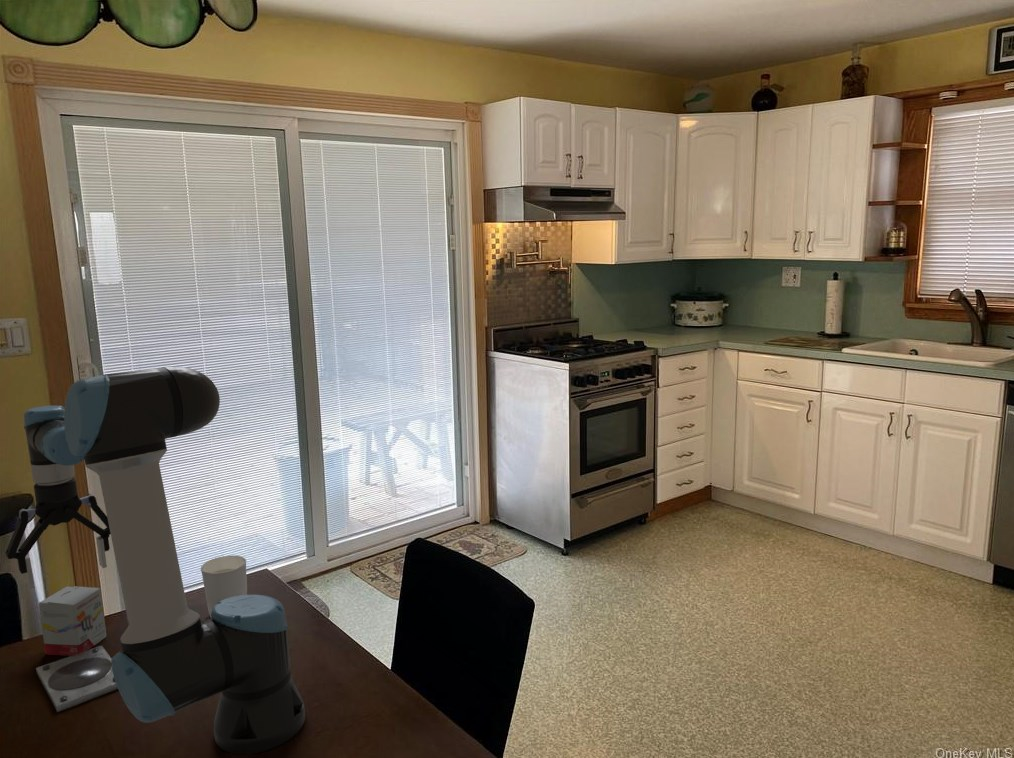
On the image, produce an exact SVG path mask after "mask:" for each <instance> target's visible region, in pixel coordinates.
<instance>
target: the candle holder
mask: <svg viewBox="0 0 1014 758" xmlns="http://www.w3.org/2000/svg"><path fill="white" fill-rule="evenodd" d="M200 571H201V572H200V573H201V575H202V582H203V587H204V592H205V599H206V600H205V601H206V605H207V610H208V614H209V617H210V618H209V619H211V618H212V616H211V612H212V609H213V607H214V606H215V605H216V604H217V603H218V602H219V601H221V600H224V599H226V598H230V597H234V596H239V595H248V584H247V583H248V582H247V581H248V578H247V559H246V558H245V557H243V556H240V555H223V556H219V557H215V558H213V559H209V560H207V561H206V562H204V563H203V564H202V565H201V567H200Z"/></svg>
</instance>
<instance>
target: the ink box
mask: <svg viewBox="0 0 1014 758" xmlns="http://www.w3.org/2000/svg"><path fill="white" fill-rule="evenodd" d="M38 606H39V607H38V609H39V615H40V622H41V623H40V624H41V630H42V638H43V645H44V652H45V655H49V656H67V657H69V656H72V655H75V654H78V653H81V652H84V651H87V650H90V649H93V647H94V646H96V645H97V644H99V643H100V642H101V641H102V640H104V639H105V638H107V631H106V630H107V627H106V622H105V612H104V607H103V597H102V588H101V587H94V586H93V587H92V586H91V587H90V586H89V587H88V586H75V585H67V586H65V587H63V588H62V589H60V590H59V591H56V592H55V593H53V594H52V595H49V596H48V597H46V598H44V599H42V600H41V601H39V602H38Z"/></svg>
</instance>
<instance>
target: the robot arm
mask: <svg viewBox="0 0 1014 758" xmlns="http://www.w3.org/2000/svg"><path fill="white" fill-rule="evenodd" d="M220 402H221V398H220V393H219V389H218V388H217V386H216V384H215V382H213V380H212V379H211V378H209V377H208V376H207V375H206V374H204V373H203V372H200V371H198V370H196V369H192V368H190V367H183V366H173V365H172V366H163V367H159V368H150V369H142V370H132V371H124V372H116V373H114V372H113V373H106V374H100V375H96V376H90V377H85V378H81V379H79V380H76V381H75V382H74V383H72V385H70V387H69V389H68V390H67V394H66V397H65V402H64V406H62V405H57V404H56V405H44V406H36V407H32V408H29V409H28V410H26V411H25V412H24V414H23V420H24V421H23V422H24V426H23V428H24V430H25V436H26V437H25V438H26V444H27V448H28V449H27V450H28V455H29V461H30V468H31V475H32V477H31V478H32V482H33V483H34V485H33V489H34V497H35V507H34V508H30V509H25V508H20V509H19V510H18V520H17V523H16V525H15V528H14V531H13V532H12V535H11V538H10V540H9V542H8V545H7V548H6V550H5V556H6V557H7V559H8V560H12V559H16V560H17V566H18V570H19V572H20V573H21V575H23V574H25V576H26V582H27V586H28V587H29V589H30V590H32V589H34V588H35V581H34V576H33V569H32V560H31V557H30V556H29V553H30V551H31V550H32V548H33V547H34V546H35V545H36V543H37V541H38V540H39V538H40V537H41V535H42V534H43V533H44V531H46V530H47V529H48V527H49V526H53V527H54V526H57V525H60V524H64V523H70V522H71V521H72V520H74V519H75V520H76V521H78V522H80V523H81V524H83V525H84V526H86V527H87V528H89V529H90V530H91V531H92V532H94V533H96V534H98V535H97V536H96V537H95V539H96V547H97V554H98V555H97V556H98V563H99V566H101V568H102V569H105V568H107V567H108V566H107V565H108V564H107V558H106V552H109V551H110V550H111V549H110V541H109V538H111V541H112V543H111V544H112V548H113V553H114V557H115V563H116V567H117V572H118V577H119V582H120V588H121V593H122V598H123V602H124V606H125V607H124V608H125V612H126V617H127V618H126V619H127V624H128V626H127V628H126V629H125V630H124V632H123V633H122V635H121V636H120V640H119V641H120V644H121V651H119V652H116V654H114V655H113V656H112V657H111V659H112V660H111V663H112V672H113V676H114V679H115V682H116V684H117V687H118V689H117V690H118V692H119V694H120V695H121V698H122V700H123V702H124V703H125V706H127V707H126V708H128V710H129V712H130V713H131V715H133V716H134V718H136V720H137V721H140V722H142V723H146V724H148V723H154V722H155V721H158V720H161V719H163V718H167V717H168V716H174V715H175V714H176V713H178V712H180V711H183V710H185V709H187V708H189V707H191V706H193V705H195V704H197V703H200V702H202V701H204V700H206V699H209V698H211V697H213V696H214V695H217V694H220V695H219V700H218V703H217V704H218V705H217V707H216V713H215V716H214V721H213V736H214V740H215V744H216V745H217V747H219V748H220V749H221V750H223V751H225V752H226V753H227V752H228V753H231V754H237V755H250V754H257V753H261V752H267V751H269V750H272V749H275V748H277V747H279V746H281V745H283V744H285V743H286V742H288V741H290V740H291V739H292V738H293V737H295V736H296V735H297V734H298V733H299V731H301V729H302V727H303V725H304V724H305V721H306V710H305V703H304V700H303V698H302V696H301V694H300V692H299V690H298V688H297V686H296V684H295V682H294V680H293V678H292V673H291V672H292V670H291V659H290V658H291V657H290V648H289V646H290V645H289V636H288V626H289V625H288V622H287V618H286V612H285V608H284V606H283V603H282V602H280V601H279V600H278V599H276V598H274V597H271V596H268V595H263V594H255V593H254V594H247V595H239V596H234V597H230V598H226V599H224V600H221V601H219V602H218V603H217V604H216V605H215V606H214V607H213V609H212V612H211V616H212V618H209V619H207V620H204V621H201V620H202V619H201V615H200V613H198V612H196V611H194V610H192V609H190V608H189V607H188V603H187V599H186V594H185V588H184V587H185V586H184V584H183V583H184V582H183V578H182V573H181V568H180V563H179V558H178V553H177V549H176V543H175V538H174V533H173V527H172V523H171V516H170V511H169V507H168V501H167V498H166V493H165V486H164V481H163V477H162V471H161V466H160V462H161V460H162V458H163V457H164V456H165V454H166V453H167V452H168V448H167V444H166V442H167V441H166V440H167V439H170V438H176V437H180V436H184V435H187V434H190V433H194V432H197V431H199V430H201V429H203V428H205V427H206V426H207V425H209V424H210V423H211V422H212V421H213V420H214V418H215V417H216V416H217V414H218V412H219V408H220V405H221V404H220ZM83 461H84V465H85V468H87V469H89V470H91V471H92V472H94V473H96V474H97V475H98V477H99V482H100V486H101V492H102V497H103V502H104V507H105V511H106V512H104V511H103V510H102V509H101V507H100V506H99V505H98V503H97V498H96V497H95V496H94V495H93V494H92V493H87V494H86V496H83V497H79V494H78V487H77V479H76V478H75V475H76V473H75V465H77V464H81V462H83ZM83 504H84V505H85V507H90V509H91V510H92V511H93V512H94V514H96V516H97V517H98V518H99V519H100V521H101V522H102V523H103V524H104V526H105V527H106V528H102V527H101V526H100V525H98V524H97V523H95V522H93V521H92V520H90V519H89V518H88V517H86V516H84V515H83V514H82V513H80V512H79V510H80V508H81V507H82V505H83ZM105 513H106V514H105ZM34 515H36V516H37V517H38V518H39V519H38V521H37V522H36V523H35V526H34V527H33V529H32V530H31V532H30V533H29V534H28V536H26V538H25V540H24V542H22V544H21V546H20V543H21V541H22V539H23V536H24V534H25V531H26V528H27V526H28V523H29V521H31V520H32V518H33V516H34ZM19 546H20V547H19Z"/></svg>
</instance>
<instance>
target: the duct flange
mask: <svg viewBox="0 0 1014 758" xmlns="http://www.w3.org/2000/svg"><path fill="white" fill-rule="evenodd" d="M111 660H112V657H111V656H110V655H109V653H108V652H107V650H106V649H105V648H104V646H103V645H99V646H96V647H94V648H93V647H92V648H90V649H89V650H87V651H84V652H81V653H78V654H75V655H72V656H67V657H64V658H60V659H58V660H56V661H52V662H49V663H47V664H44V665H41V666H38V667H36V668H35V670H36V675H37V676H38V678H39V681H40V682H41V684H42V686H43V688H44V690H45V692H46V694H47V696H48V697H49V699H50V701H51V703H52V704H53V707H54V708H55V710H56V712H57V713H59V712H61V711H65V710H67V709H70V708H72V707H75V706H78V705H80V704H82V703H85V702H88V701H91V700H93V699H95V698H98V697H101V696H103V695H106V694H108V693H111V692H114V691H115V690H116V691H117V690H119V689H118V687H117V684H116V682H115V679H114V676H113V672H112V663H111Z"/></svg>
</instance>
